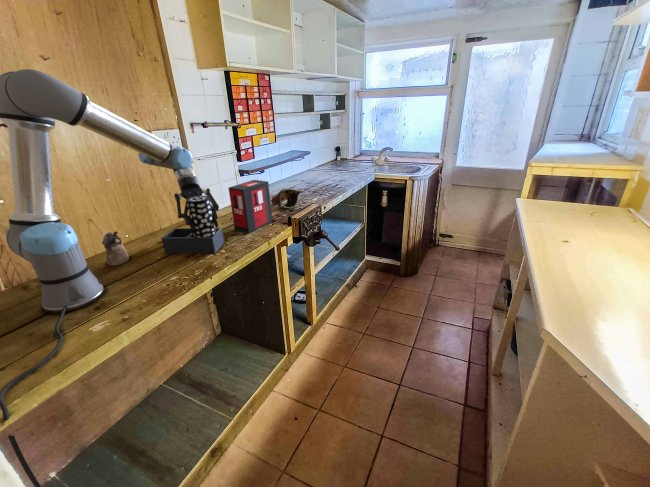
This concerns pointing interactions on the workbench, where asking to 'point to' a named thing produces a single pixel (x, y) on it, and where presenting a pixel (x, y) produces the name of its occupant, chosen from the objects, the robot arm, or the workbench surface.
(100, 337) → the workbench surface
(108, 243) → the figurine
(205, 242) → the tray
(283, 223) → the workbench surface
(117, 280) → the workbench surface
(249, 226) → the cleaning product box
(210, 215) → the spotted tube
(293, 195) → the pot
